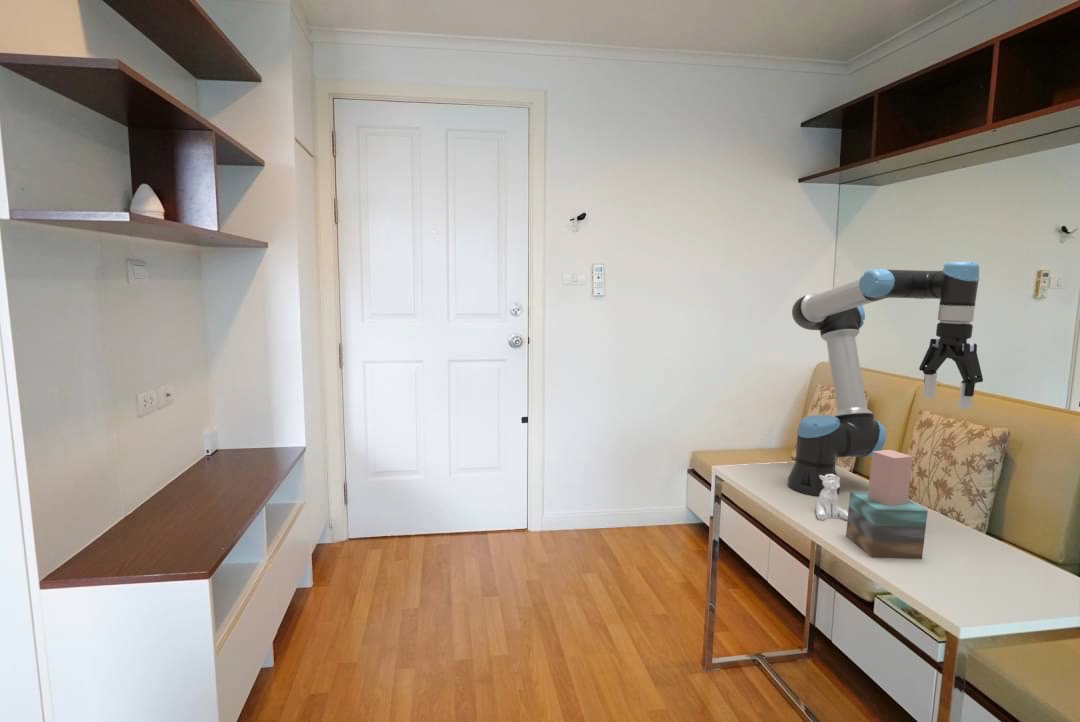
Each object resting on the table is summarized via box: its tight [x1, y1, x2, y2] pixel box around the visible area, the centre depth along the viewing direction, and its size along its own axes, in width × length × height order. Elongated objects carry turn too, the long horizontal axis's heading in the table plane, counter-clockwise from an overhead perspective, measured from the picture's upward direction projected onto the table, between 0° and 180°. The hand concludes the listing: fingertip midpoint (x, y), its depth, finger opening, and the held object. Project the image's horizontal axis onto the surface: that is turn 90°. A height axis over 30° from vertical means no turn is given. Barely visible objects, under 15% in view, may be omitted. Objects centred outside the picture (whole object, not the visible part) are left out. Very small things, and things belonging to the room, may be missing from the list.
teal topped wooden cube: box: [845, 491, 928, 560], centre depth 143 cm, size 12×12×12 cm
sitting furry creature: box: [815, 474, 848, 521], centre depth 163 cm, size 10×9×12 cm
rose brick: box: [867, 449, 913, 506], centre depth 141 cm, size 6×6×12 cm
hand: (945, 403), depth 151 cm, fingers open, 13 cm apart
